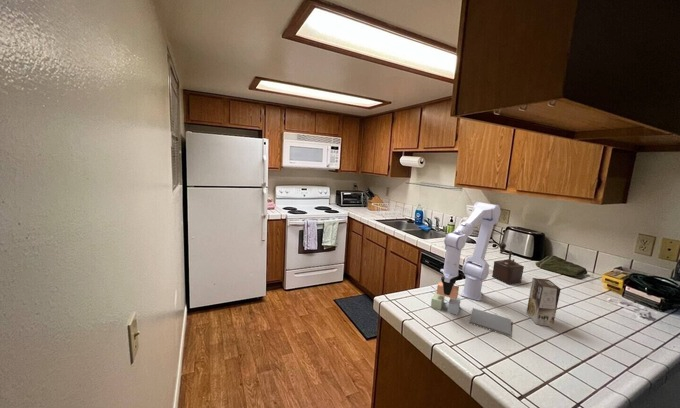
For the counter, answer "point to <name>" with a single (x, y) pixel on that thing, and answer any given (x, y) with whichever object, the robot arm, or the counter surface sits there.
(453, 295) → the terracotta brick
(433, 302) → the sage brick
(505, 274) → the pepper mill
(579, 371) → the counter surface
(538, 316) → the coffee box
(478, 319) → the slate mat
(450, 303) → the blue brick
